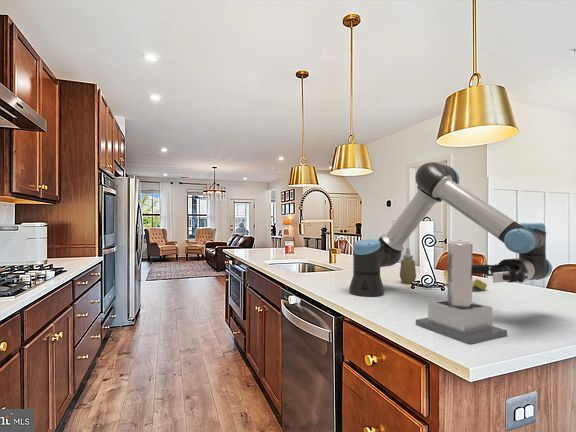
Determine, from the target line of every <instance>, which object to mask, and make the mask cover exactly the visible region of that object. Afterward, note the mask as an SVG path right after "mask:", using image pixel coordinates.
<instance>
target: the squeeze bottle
mask: <svg viewBox="0 0 576 432" xmlns="http://www.w3.org/2000/svg"><path fill="white" fill-rule="evenodd" d="M413 256H414V255H412V254H411V251H410V248H409V247H407V248H406V251H405V254H404V255H403V254H402V259H400V269H399V277H400V282H401V283H403V284H406V285H412V284H411V283H412V282H414V283H415V282H416V278H417V270H416V262H415V260H414V257H413Z"/></svg>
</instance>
